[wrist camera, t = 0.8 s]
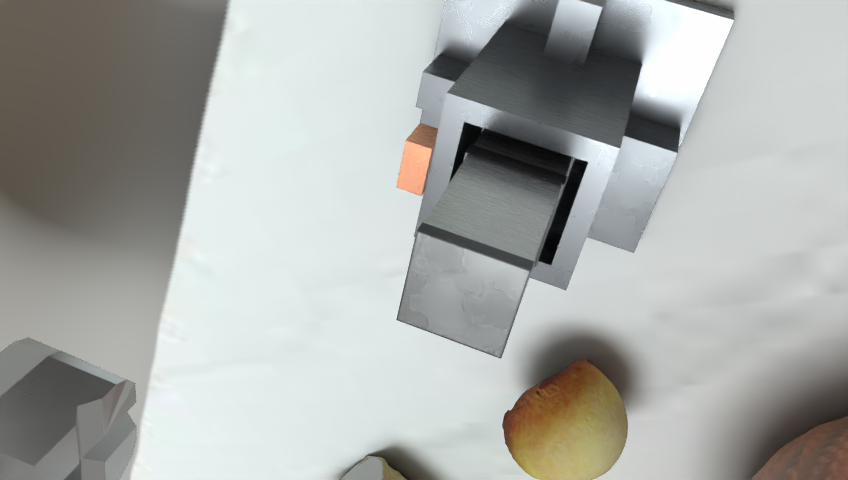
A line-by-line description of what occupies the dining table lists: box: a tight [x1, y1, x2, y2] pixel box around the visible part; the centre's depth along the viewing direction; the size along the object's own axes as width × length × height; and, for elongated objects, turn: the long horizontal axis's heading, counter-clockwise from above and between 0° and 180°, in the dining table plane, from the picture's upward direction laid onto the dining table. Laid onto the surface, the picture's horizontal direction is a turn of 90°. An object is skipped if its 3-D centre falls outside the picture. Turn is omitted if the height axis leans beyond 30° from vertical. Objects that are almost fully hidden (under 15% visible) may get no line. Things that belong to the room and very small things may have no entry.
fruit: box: [502, 360, 628, 480], centre depth 50 cm, size 8×8×8 cm
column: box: [397, 128, 576, 358], centre depth 35 cm, size 4×4×18 cm
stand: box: [397, 0, 734, 290], centre depth 39 cm, size 14×14×12 cm
